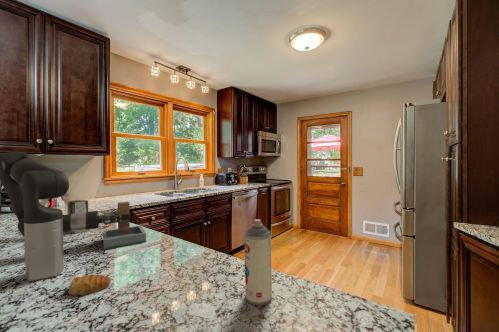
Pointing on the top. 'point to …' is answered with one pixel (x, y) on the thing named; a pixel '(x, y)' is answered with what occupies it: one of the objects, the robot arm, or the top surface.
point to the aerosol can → (258, 264)
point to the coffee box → (77, 209)
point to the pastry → (88, 284)
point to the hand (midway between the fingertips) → (130, 215)
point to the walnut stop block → (124, 224)
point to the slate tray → (123, 238)
